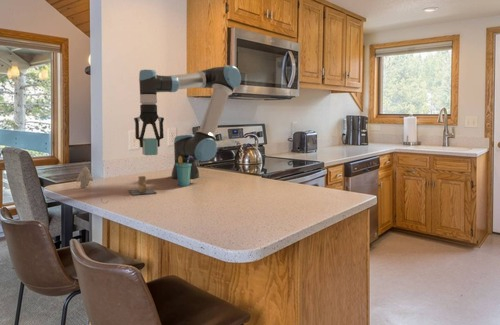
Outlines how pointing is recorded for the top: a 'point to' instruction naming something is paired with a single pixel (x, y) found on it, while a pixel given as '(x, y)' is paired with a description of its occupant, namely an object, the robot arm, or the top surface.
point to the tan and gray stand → (142, 188)
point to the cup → (183, 171)
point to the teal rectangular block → (150, 146)
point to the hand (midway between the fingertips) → (150, 153)
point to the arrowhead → (84, 177)
